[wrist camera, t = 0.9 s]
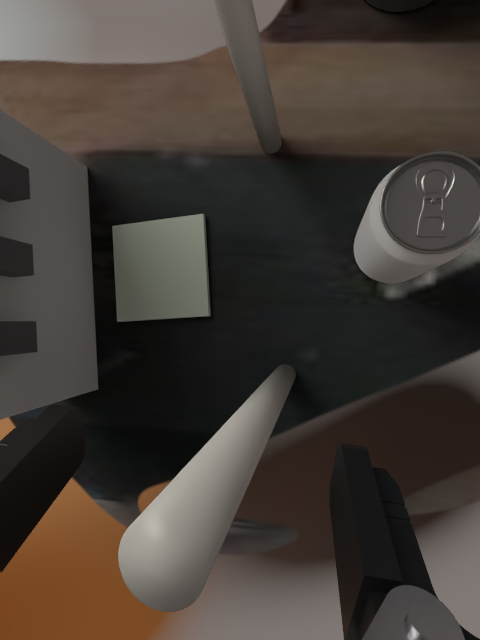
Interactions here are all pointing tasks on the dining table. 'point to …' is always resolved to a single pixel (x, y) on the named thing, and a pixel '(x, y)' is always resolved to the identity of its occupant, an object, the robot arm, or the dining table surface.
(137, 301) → the pad
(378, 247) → the can
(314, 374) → the dining table surface
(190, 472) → the cord posts
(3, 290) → the breaker panel
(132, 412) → the dining table surface
